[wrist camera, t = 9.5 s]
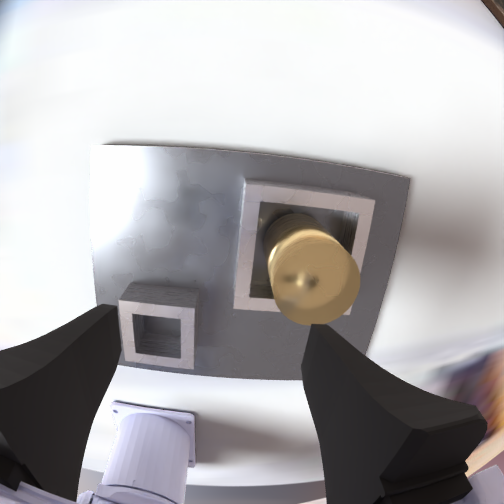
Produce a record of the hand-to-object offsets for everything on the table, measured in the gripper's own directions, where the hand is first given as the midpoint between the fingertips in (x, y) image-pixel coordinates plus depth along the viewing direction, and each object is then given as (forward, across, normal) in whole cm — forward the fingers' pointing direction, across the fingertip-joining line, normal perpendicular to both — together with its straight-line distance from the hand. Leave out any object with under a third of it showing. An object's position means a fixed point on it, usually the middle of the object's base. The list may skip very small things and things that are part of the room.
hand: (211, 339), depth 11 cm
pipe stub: (+9, -4, -1) cm, 10 cm away
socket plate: (+10, -2, +2) cm, 11 cm away
